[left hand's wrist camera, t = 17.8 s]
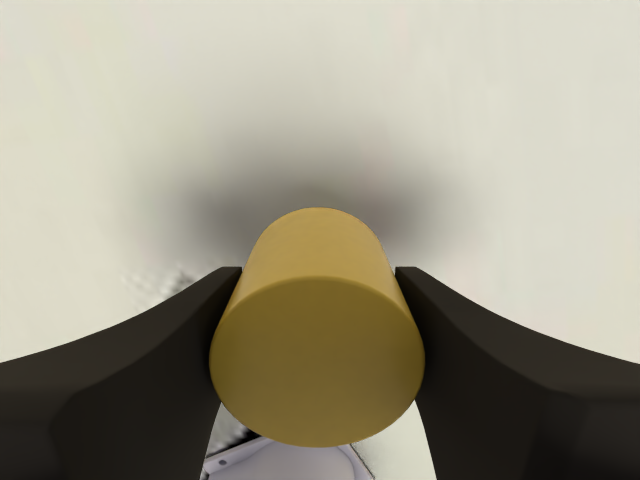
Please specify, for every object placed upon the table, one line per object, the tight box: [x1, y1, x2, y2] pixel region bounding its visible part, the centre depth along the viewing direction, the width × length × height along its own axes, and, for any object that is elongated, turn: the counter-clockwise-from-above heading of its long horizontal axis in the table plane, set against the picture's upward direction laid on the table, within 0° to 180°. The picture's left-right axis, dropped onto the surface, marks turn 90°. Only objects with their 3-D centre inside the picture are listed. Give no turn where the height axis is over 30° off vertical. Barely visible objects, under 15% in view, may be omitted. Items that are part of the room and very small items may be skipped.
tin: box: [209, 207, 425, 448], centre depth 10 cm, size 5×5×5 cm
